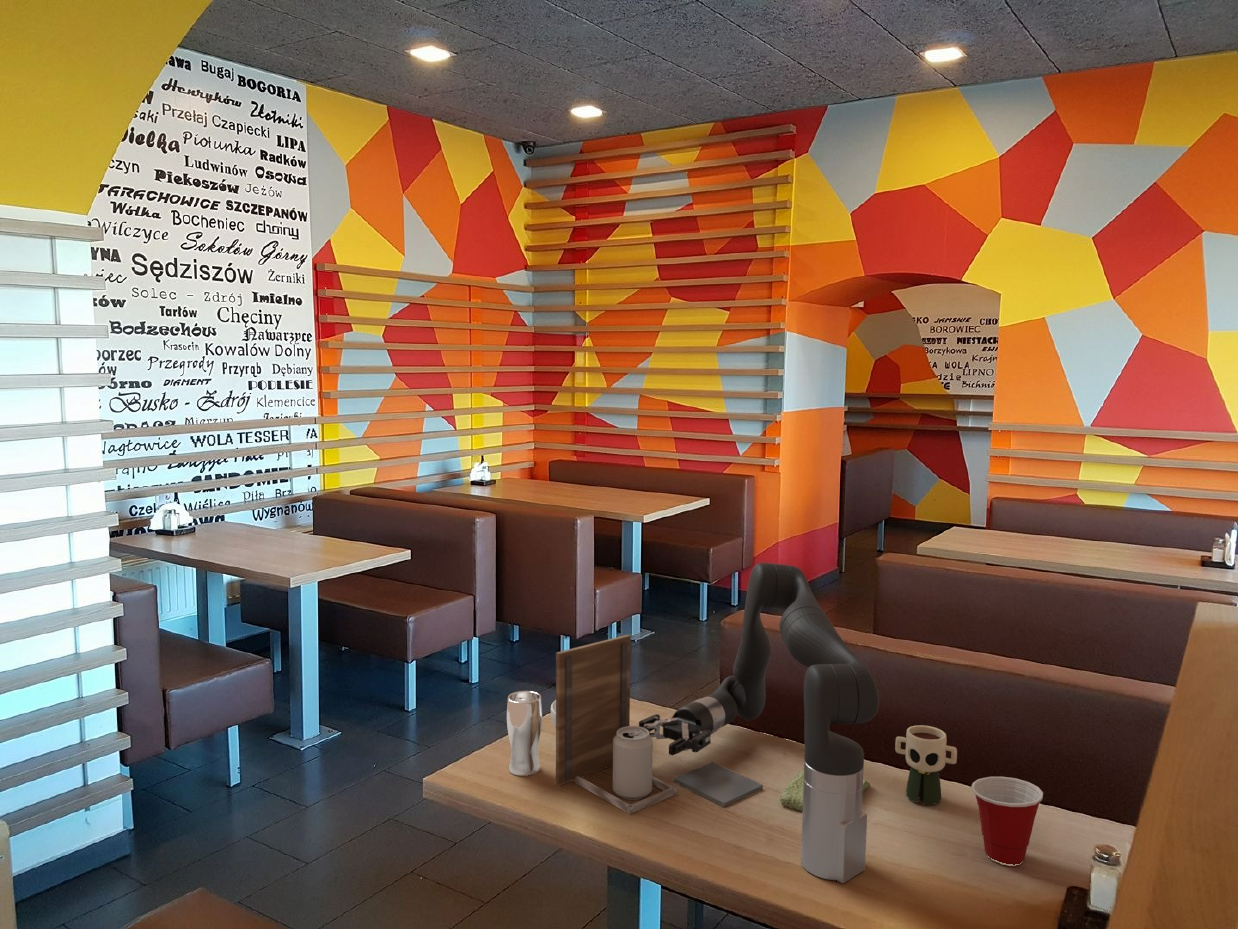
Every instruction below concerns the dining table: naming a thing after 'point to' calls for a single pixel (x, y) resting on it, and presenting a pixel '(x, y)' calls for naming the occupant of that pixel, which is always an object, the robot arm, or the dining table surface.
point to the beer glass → (524, 731)
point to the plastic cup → (1006, 816)
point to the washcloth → (800, 792)
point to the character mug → (925, 761)
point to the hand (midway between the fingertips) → (652, 744)
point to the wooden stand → (595, 715)
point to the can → (632, 762)
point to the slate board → (718, 784)
